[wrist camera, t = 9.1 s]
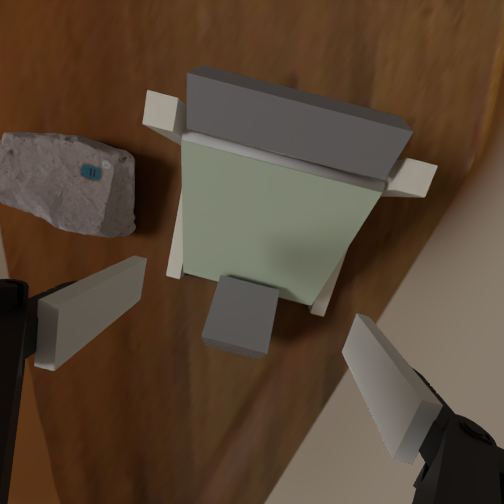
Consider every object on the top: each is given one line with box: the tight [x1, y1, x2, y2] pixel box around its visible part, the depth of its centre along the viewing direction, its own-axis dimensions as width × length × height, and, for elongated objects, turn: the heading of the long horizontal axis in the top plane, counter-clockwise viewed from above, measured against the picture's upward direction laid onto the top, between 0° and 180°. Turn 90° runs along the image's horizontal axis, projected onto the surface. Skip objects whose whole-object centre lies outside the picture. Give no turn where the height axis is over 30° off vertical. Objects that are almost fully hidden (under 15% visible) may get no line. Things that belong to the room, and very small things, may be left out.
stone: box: [0, 132, 136, 238], centre depth 26 cm, size 13×10×6 cm
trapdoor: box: [181, 65, 413, 306], centre depth 21 cm, size 18×14×3 cm
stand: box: [143, 90, 438, 317], centre depth 23 cm, size 18×19×12 cm
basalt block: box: [201, 275, 280, 359], centre depth 27 cm, size 6×6×7 cm
